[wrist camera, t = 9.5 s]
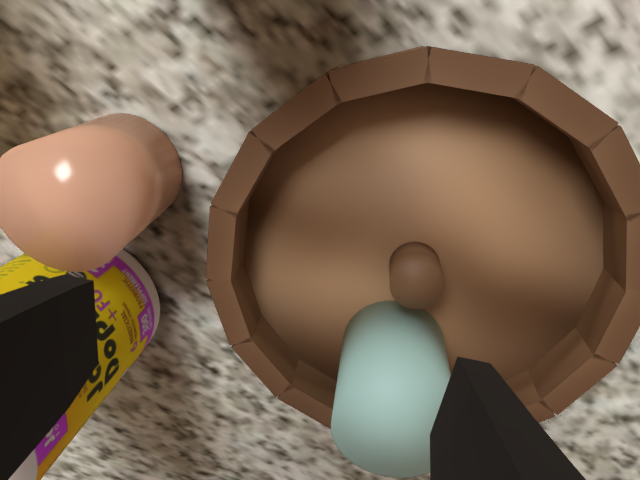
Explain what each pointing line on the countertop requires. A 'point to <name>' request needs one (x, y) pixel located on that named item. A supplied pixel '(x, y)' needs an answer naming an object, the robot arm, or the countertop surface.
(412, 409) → the pale teal rounded piece
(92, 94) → the countertop surface
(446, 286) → the tray
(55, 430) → the supplement bottle
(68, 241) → the smooth rounded cylinder peach
